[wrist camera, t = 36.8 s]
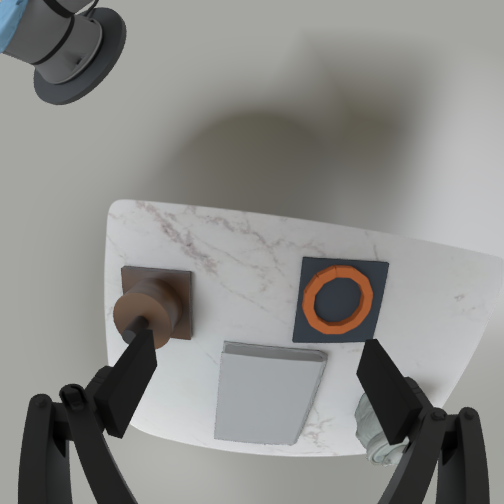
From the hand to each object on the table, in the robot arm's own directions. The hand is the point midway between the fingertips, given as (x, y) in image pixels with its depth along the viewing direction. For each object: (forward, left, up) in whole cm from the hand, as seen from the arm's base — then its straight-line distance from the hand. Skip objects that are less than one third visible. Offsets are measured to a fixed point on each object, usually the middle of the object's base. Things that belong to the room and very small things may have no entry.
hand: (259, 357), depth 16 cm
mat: (+8, +15, -28) cm, 33 cm away
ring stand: (+10, -16, -28) cm, 34 cm away
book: (+29, +4, -28) cm, 41 cm away
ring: (+7, +14, -27) cm, 31 cm away
